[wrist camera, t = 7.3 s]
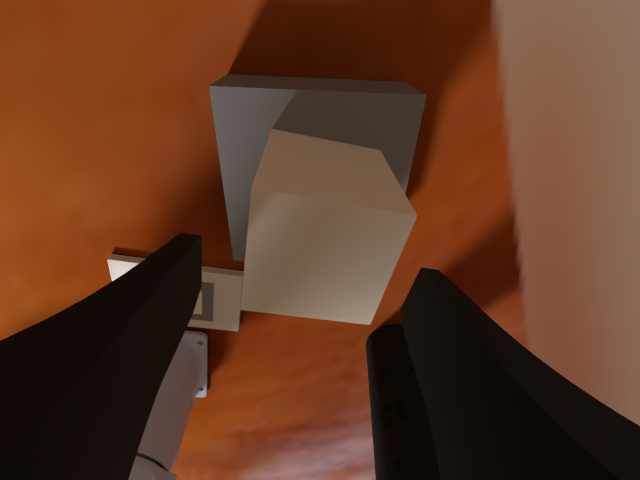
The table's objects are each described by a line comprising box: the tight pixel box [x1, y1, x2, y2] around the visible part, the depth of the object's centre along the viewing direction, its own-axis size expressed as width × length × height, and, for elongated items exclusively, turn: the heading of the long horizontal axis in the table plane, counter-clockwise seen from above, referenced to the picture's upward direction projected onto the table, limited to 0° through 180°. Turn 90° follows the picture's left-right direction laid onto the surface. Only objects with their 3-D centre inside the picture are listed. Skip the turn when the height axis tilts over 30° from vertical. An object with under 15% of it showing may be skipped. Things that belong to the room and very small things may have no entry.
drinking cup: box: [366, 325, 440, 480], centre depth 20 cm, size 8×8×20 cm
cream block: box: [240, 129, 417, 325], centre depth 13 cm, size 5×5×6 cm
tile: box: [107, 254, 244, 332], centre depth 24 cm, size 6×9×1 cm, turn 79°
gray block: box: [209, 74, 427, 261], centre depth 17 cm, size 9×9×4 cm
